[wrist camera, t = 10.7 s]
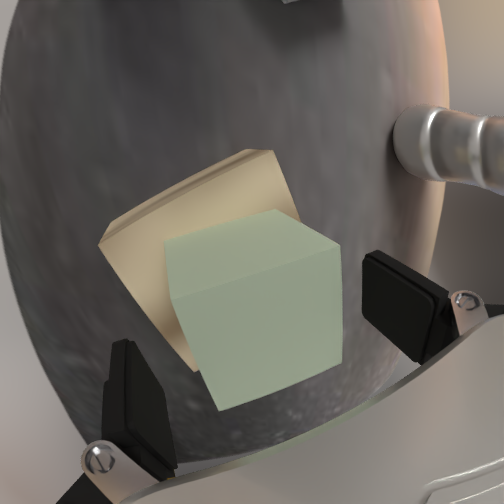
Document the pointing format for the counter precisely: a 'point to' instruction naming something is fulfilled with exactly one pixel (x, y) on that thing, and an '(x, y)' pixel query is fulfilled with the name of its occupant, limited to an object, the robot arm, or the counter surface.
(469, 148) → the plastic bottle
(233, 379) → the sage-green block
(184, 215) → the beech block
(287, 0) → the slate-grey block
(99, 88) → the counter surface
